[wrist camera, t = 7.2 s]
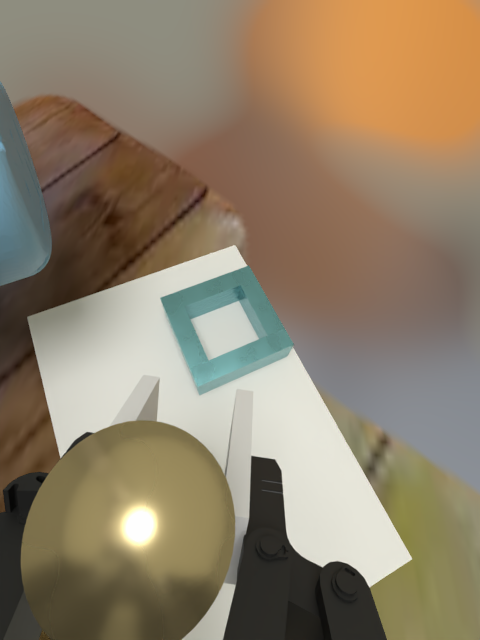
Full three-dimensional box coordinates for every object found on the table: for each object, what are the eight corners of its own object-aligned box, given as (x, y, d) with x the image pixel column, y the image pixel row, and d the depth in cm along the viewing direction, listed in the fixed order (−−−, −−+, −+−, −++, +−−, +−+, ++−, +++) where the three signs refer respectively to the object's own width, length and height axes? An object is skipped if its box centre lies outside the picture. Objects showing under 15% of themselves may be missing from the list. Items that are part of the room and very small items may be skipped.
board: (32, 321, 34) (26, 316, 33) (234, 250, 39) (235, 245, 38) (132, 735, 22) (129, 746, 21) (405, 556, 27) (412, 558, 26)
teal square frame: (164, 312, 34) (159, 297, 31) (246, 281, 36) (248, 265, 33) (199, 395, 31) (197, 386, 28) (287, 356, 33) (293, 344, 30)
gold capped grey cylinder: (132, 477, 17) (2, 472, 7) (205, 441, 18) (190, 390, 8) (159, 563, 16) (47, 723, 5) (237, 520, 17) (270, 586, 6)
